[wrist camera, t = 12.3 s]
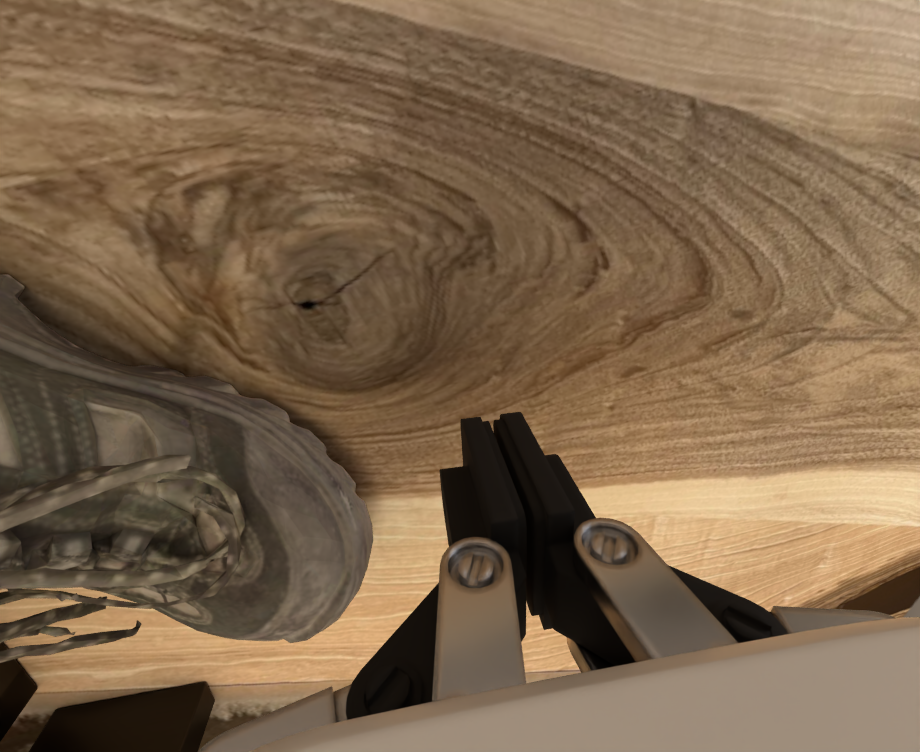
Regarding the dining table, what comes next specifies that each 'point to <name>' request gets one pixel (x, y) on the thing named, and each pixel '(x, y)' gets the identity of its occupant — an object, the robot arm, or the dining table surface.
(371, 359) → the dining table surface
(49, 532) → the hiking shoe
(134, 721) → the shoe rack
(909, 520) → the dining table surface
